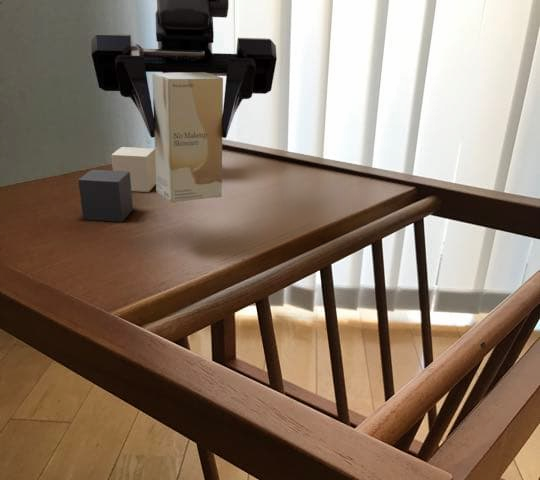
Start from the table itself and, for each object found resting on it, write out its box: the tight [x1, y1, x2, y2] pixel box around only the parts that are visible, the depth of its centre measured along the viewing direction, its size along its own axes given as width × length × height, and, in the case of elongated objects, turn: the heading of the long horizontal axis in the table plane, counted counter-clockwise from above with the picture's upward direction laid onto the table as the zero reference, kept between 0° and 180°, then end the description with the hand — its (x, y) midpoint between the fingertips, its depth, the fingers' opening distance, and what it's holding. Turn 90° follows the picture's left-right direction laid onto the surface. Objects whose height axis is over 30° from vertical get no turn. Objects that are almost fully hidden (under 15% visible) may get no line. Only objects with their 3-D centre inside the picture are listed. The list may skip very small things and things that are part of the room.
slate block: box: [78, 169, 134, 223], centre depth 79 cm, size 5×5×5 cm
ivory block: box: [110, 146, 156, 193], centre depth 91 cm, size 5×5×5 cm
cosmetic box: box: [151, 72, 224, 203], centre depth 66 cm, size 6×4×12 cm
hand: (188, 135), depth 64 cm, fingers closed on cosmetic box, 7 cm apart
